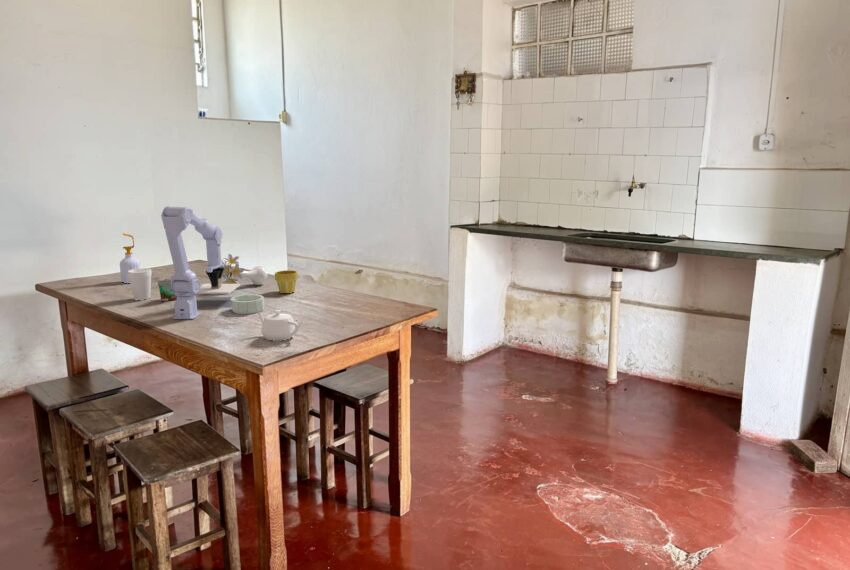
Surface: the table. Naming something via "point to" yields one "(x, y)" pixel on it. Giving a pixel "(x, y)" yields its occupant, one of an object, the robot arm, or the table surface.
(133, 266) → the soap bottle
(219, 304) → the mat
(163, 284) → the food container
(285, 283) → the plant pot
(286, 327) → the teapot
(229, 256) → the flower vase
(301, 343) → the table surface
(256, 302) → the bowl
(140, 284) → the foam cup
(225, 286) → the cover sheet
